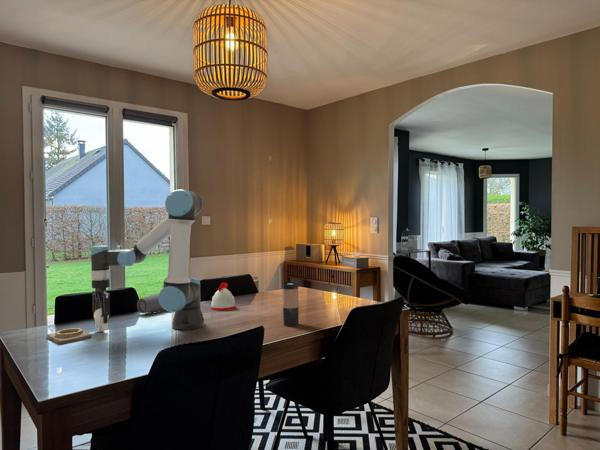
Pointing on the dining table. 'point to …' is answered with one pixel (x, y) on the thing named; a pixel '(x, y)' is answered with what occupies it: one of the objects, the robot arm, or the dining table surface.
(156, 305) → the bluetooth speaker
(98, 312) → the lightbulb
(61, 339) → the socket
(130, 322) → the dining table surface
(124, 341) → the dining table surface
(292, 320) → the travel mug
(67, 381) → the dining table surface
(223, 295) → the white dome
